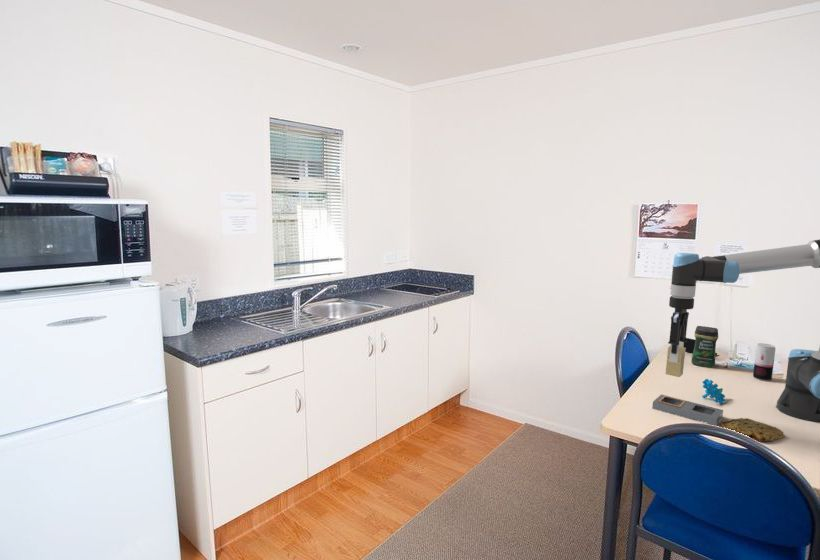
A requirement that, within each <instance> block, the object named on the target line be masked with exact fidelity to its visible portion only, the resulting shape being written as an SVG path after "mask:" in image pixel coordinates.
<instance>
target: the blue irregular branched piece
mask: <svg viewBox="0 0 820 560" xmlns="http://www.w3.org/2000/svg"><path fill="white" fill-rule="evenodd" d="M718 387H719V385H718V383H714V381H713V380H712V379H710V380H709V379H708V378H705V379H704V380H703V381H702V388H704V389H705V390H704V392H705V393H704V394H702V395H701V396H702V398H703V399H705V398H707V397H709V398H710V400H713V399H714V402H715V403H717V404H718V403H719V404H721V405H722V404H724V402H726V399H725V398H726V395H725V394H724V393H723V390H724V389H723V387H720V388H718Z"/></svg>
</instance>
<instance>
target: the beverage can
mask: <svg viewBox="0 0 820 560" xmlns="http://www.w3.org/2000/svg"><path fill="white" fill-rule="evenodd" d="M755 348H756V349H755V357H754V364H753V373H752V377H753V378H754V379H755V378H756V379H755V380H758V379H759V380H758V381H763V382H769V381H772V380H773V372H774V364H775V356H776V354H775V353H776V349H777V348H776V346H775V345H773V344H769V343H761V342H760V343H757V344H756V347H755Z"/></svg>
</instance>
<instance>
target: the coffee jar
mask: <svg viewBox="0 0 820 560" xmlns="http://www.w3.org/2000/svg"><path fill="white" fill-rule="evenodd" d="M694 337H695V339H694V340H695V346H694V351H693V354H692V356H691V361H690V362H691V364H693V365H695V366H697V367H698V366H699V367H703V368H715V366H716V356H715V353H716V348H717V347H716V346H717V341H718V339H719V329H718V328H717V327H711V326H703V325H697V326H696V327H695V330H694Z"/></svg>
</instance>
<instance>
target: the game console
mask: <svg viewBox="0 0 820 560" xmlns="http://www.w3.org/2000/svg"><path fill="white" fill-rule="evenodd" d="M685 340H687V341H686V342H684V346H683V347H685V348H686V349H685V353H686V352H687V354H691V353H692V355H693V351H694V346H695V339H694V338H688V337H686V339H685ZM717 355H718V352H715V357H716V356H717Z"/></svg>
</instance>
